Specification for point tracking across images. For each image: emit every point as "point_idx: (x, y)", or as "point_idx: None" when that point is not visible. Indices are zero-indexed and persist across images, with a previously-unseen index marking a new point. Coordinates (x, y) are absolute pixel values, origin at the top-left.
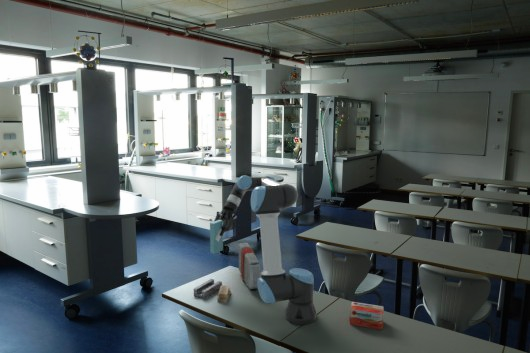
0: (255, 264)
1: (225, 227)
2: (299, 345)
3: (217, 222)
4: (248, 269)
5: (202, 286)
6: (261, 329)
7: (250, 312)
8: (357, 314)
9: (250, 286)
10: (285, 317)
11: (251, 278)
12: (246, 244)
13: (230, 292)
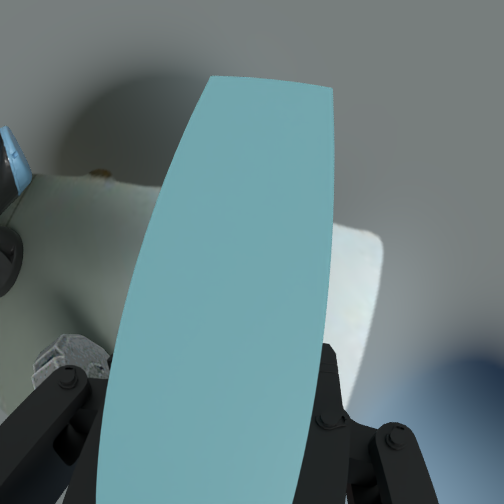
0: (43, 364)
1: (69, 380)
2: None
3: (154, 216)
4: (90, 374)
5: None
6: (63, 185)
7: (89, 236)
8: None
9: (106, 353)
10: (21, 244)
11: (79, 335)
12: None
13: None
